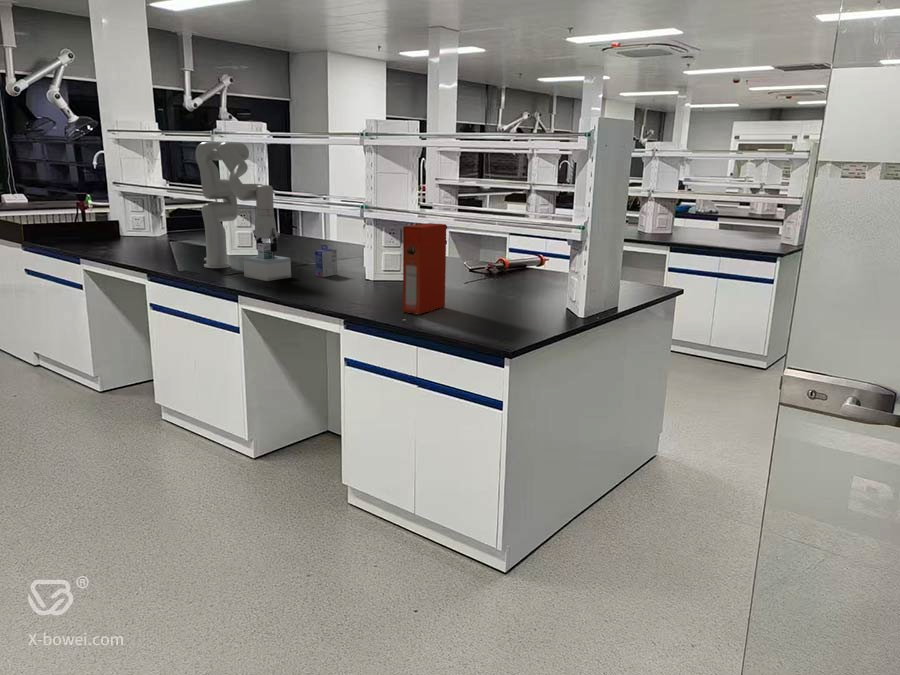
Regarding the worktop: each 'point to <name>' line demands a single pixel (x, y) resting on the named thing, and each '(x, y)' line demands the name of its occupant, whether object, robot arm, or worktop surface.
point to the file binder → (424, 267)
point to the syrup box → (265, 251)
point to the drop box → (267, 268)
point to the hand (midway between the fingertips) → (266, 250)
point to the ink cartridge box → (326, 262)
